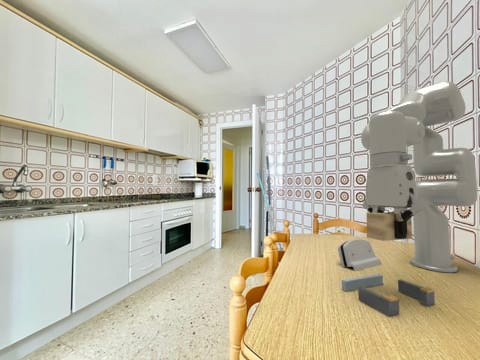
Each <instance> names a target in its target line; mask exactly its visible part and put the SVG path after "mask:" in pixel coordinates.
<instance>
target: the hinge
mask: <svg viewBox="0 0 480 360" xmlns="http://www.w3.org/2000/svg"><path fill="white" fill-rule="evenodd" d="M337 252H338V256H339V261H340V265H341V267H342V268H345V267H348V268H350V267H352V268H353V271H354V272H358V271H361V270H362V271H363V270H366V269H370V268H372V267H377V266H380V265H382V261H381V259H380V258H379V257H378V256H376V253H375V251H374V249H373V247H372V244H371V243H370V241H368V240H366V239H359V238H358V239H357V238H355V239H349V240H346V241H344V242H343V243H340V244H339V245H338V246H337Z"/></svg>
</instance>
